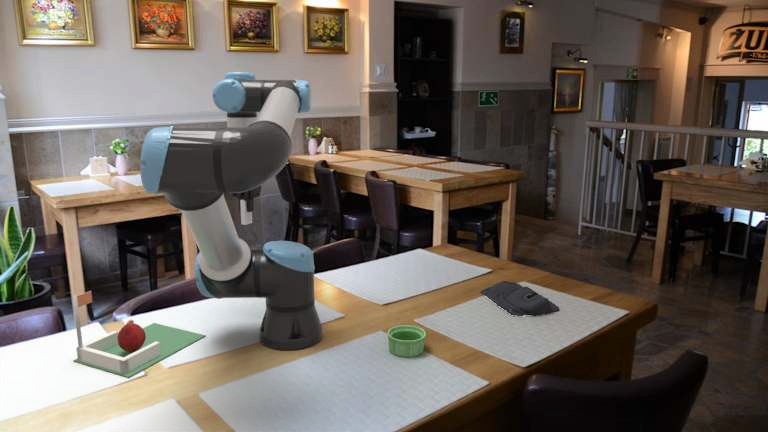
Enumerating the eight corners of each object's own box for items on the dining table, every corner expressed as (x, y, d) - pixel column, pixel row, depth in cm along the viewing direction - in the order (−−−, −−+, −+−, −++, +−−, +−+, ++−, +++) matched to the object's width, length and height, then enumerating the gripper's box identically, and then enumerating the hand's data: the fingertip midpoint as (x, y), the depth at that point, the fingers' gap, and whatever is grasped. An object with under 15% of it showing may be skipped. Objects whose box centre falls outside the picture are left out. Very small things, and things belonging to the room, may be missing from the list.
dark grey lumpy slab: (519, 287, 178) (520, 273, 177) (563, 314, 158) (564, 297, 157) (475, 293, 173) (476, 278, 172) (515, 321, 153) (516, 304, 152)
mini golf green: (160, 354, 131) (155, 292, 127) (124, 374, 122) (117, 307, 119) (115, 342, 137) (109, 282, 133) (77, 360, 128) (70, 296, 125)
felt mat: (205, 336, 141) (205, 335, 141) (128, 378, 121) (128, 376, 121) (154, 324, 148) (154, 322, 148) (73, 361, 128) (73, 360, 128)
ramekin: (398, 362, 129) (399, 344, 128) (380, 346, 137) (380, 329, 136) (432, 354, 133) (433, 336, 132) (413, 339, 141) (413, 322, 140)
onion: (136, 360, 128) (132, 327, 126) (113, 357, 129) (109, 324, 127) (152, 348, 134) (148, 316, 132) (130, 345, 135) (126, 314, 133)
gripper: (272, 134, 149) (275, 223, 154) (232, 132, 154) (236, 218, 159) (254, 135, 142) (258, 229, 147) (212, 134, 147) (217, 223, 152)
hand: (246, 223), depth 153 cm, fingers closed
